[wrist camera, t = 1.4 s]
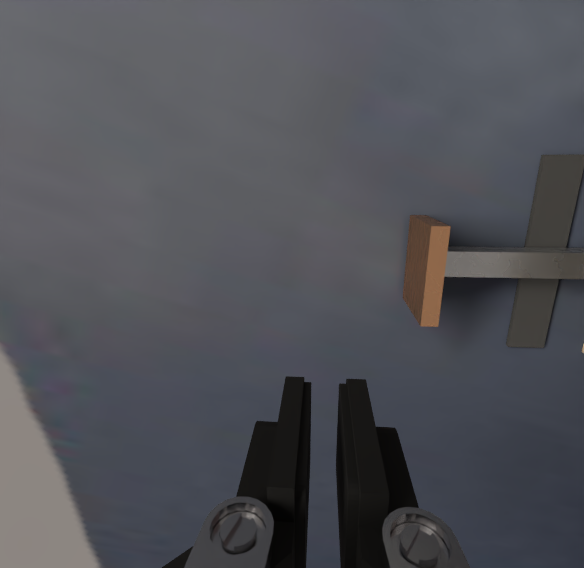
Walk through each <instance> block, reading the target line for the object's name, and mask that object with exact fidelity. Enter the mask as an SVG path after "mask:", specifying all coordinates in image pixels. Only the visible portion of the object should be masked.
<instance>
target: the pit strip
mask: <svg viewBox="0 0 584 568" xmlns="http://www.w3.org/2000/svg"><path fill="white" fill-rule="evenodd" d="M583 169H584V155H542V156H541V161H540V166H539V172H538V177H537V182H536V188H535V193H534V198H533V204H532V209H531V214H530V220H529V225H528V230H527V236H526V241H525V246H524V247H542V248H566V246H567V241H568V237H569V232H570V228H571V223H572V219H573V214H574V210H575V205H576V201H577V196H578V192H579V187H580V183H581V178H582V174H583ZM558 282H559V279H543V278H518V284H517V289H516V294H515V300H514V305H513V310H512V316H511V321H510V326H509V332H508V337H507V342H506V345H507V346H508V347H533V348H544V345H545V340H546V336H547V331H548V327H549V322H550V318H551V313H552V309H553V304H554V300H555V295H556V291H557V286H558Z"/></svg>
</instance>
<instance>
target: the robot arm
mask: <svg viewBox="0 0 584 568" xmlns="http://www.w3.org/2000/svg"><path fill="white" fill-rule="evenodd" d="M310 434H311V382H304V377H286V378H285V384H284V390H283V395H282V401H281V407H280V413H279V419H278V422H265V421H257V422H256V424H255V427H254V431H253V435H252V439H251V442H250V446H249V450H248V454H247V458H246V462H245V465H244V469H243V473H242V477H241V481H240V485H239V489H238V492H237V496H236V497H234V498H230V499H227V500H225V501H223V502H222V503H220V504H218V505H217V506H216V507H215V508H214V509H213V510H212V511H210V513H209V514H208V516H207V518H206V519H205V521H204V523H203V525H202V528H201V530H200V532H199V535H198V537H197V539H196V541H195V544H194V546H193V547H191V548H190V549H188V550H187V551H185V552H184V553H182V554H181V555H180V556H178V557H177V558H175V559H174V560H172V561H171V562H169V563H168V564H166V565H165V566H164V567H162V568H306V553H307V528H308V503H309V478H310ZM336 476H337V497H338V519H339V540H340V561H341V568H470V566H469V564H468V562H467V559H466V557H465V555H464V553H463V551H462V549H461V546H460V544H459V542H458V540H457V538H456V536H455V535H454V533H453V532H452V530H451V528H450V527H449V526H448V525H447V524H446V523H445V522H444V521H443V520H442V519H440V518H439V517H437V516H436V515H434V514H432V513H431V512H428V511H426V510H423V509H420V508H419V507H418V503H417V500H416V496H415V493H414V489H413V486H412V482H411V479H410V475H409V472H408V468H407V465H406V461H405V458H404V454H403V451H402V447H401V444H400V440H399V437H398V433H397V431H396V429H395V428H390V427H375V422H374V417H373V412H372V407H371V402H370V398H369V393H368V388H367V383H366V380H363V379H347V380H346V384H339V401H338V427H337V452H336Z"/></svg>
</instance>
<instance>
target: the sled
mask: <svg viewBox="0 0 584 568" xmlns="http://www.w3.org/2000/svg"><path fill="white" fill-rule="evenodd" d="M450 227H451V226H449V225H446V224H444V223H442V222H440V221H437V220H435V219H433V218H431V217H429V216H426V215H410V223H409V234H408V245H407V256H406V267H405V278H404V289H403V299H404V301H405V302H406V304H407V305H408V307H409V309H410V310H411V312H412V313H413V315H414V317H415V318H416V320H417V321H418V323H419V325H420V326H430V327H438V323H439V315H440V307H441V299H442V291H443V283H444V277H488V278H543V279H584V248H542V247H458V246H448V243H449V235H450Z"/></svg>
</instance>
